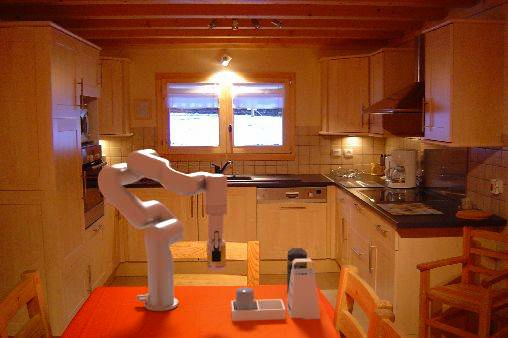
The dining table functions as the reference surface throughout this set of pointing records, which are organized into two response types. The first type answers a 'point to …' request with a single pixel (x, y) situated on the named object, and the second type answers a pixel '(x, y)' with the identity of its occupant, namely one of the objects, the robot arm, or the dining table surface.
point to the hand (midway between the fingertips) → (216, 258)
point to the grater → (303, 293)
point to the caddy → (260, 310)
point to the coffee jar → (296, 254)
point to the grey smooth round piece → (244, 299)
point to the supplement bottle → (221, 264)
